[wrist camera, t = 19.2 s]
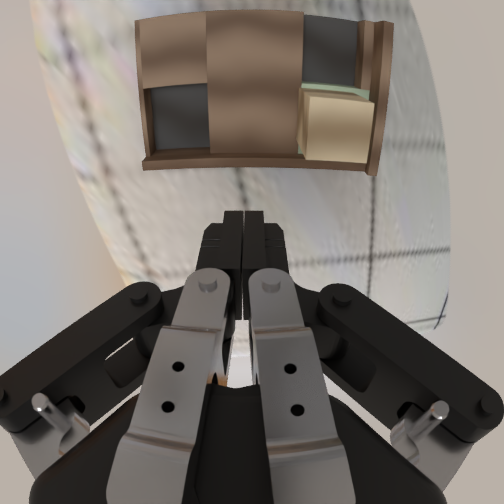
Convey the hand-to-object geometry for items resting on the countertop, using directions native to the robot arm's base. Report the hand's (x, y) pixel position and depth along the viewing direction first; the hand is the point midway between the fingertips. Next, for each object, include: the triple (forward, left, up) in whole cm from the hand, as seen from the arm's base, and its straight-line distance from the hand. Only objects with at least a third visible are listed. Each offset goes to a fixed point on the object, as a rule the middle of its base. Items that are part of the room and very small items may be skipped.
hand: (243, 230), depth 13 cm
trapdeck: (-3, +1, -23) cm, 23 cm away
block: (0, +8, -21) cm, 22 cm away
